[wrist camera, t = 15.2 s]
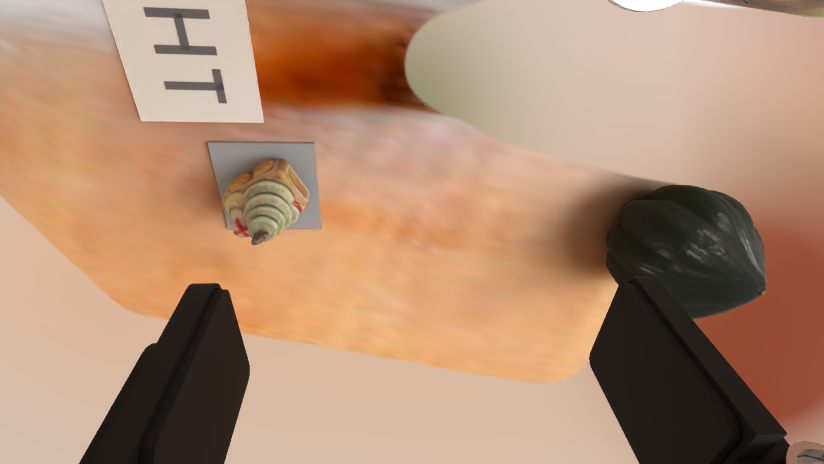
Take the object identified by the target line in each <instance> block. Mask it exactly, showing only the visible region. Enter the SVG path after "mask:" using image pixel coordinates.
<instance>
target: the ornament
mask: <svg viewBox="0 0 824 464" xmlns="http://www.w3.org/2000/svg"><path fill="white" fill-rule="evenodd" d="M309 198H310V191H309V190H308V188H307V187H306V185H305V184H304V183H303V182H302V180H301V179H300V178H299V176H298V175H297V173H296V172H295V171H294V169H293V168H292V166H291V165H290V164H289V163H288V162H287V161H286V160H284V159H280V160H273V159H267V160H265V161H263V162H261V163H260V164H259V165H258V166H257V167H256V168H255V170H254V173H249V172H246V173H242V174H240V175H238V176H237V177H235V178H234V179H233V180H232V181H231V182H230V184H229V186H228V188H227V189H226V191H225V193H224V194H223V197H222V205H223V207H224V208H225V209H226V211H227V213H228V215H229V217H230V227H231V229H232V231H233V232H234V234H235V235H237V236H238V237H241V238H243V237H249V236H250V237H251V238H252V241H251V243H252V245H257V244H260V243H262V242H263V241H264V242H265V241H269V240H271V239H273V238H274V237H275V236H277V235H279V234H280V233H281V232H282V231H283V230H285V229H286V228H287V227H288V226H289V225H290V223H294V222H296V221H297V219H298V217H299V216H300V214H301V213H302V212H303V211H304V210H306V208H307V205H308V202H309Z"/></svg>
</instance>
